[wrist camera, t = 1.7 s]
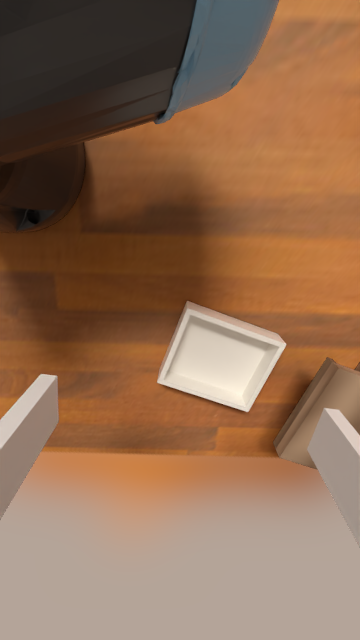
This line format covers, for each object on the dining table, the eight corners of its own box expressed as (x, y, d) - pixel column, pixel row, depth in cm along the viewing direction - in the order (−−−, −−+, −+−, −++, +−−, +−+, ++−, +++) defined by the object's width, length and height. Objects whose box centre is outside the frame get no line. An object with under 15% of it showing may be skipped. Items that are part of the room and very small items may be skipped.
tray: (159, 369, 35) (157, 382, 32) (186, 300, 32) (187, 308, 29) (242, 397, 36) (248, 412, 33) (277, 333, 33) (286, 344, 30)
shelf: (259, 409, 37) (279, 457, 29) (303, 334, 33) (338, 368, 26) (323, 430, 38) (357, 481, 31) (372, 360, 34) (426, 399, 27)
